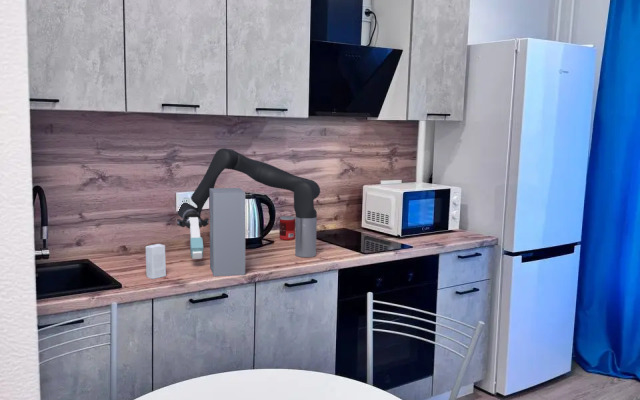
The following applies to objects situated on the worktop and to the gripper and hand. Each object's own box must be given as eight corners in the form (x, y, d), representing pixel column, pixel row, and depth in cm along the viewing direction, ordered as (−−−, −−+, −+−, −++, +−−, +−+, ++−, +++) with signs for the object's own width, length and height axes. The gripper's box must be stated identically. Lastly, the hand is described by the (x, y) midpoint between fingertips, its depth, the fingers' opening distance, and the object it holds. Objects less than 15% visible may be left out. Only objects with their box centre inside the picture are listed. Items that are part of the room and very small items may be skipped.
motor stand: (209, 267, 241) (209, 188, 236) (239, 266, 244) (239, 187, 240) (213, 276, 227) (213, 192, 223) (245, 274, 231) (245, 192, 226)
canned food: (296, 238, 302) (297, 216, 301) (292, 241, 295) (292, 219, 293) (282, 237, 304) (282, 215, 302) (277, 240, 296) (277, 218, 295)
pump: (187, 222, 254) (188, 213, 251) (199, 222, 255) (199, 213, 252) (191, 259, 238) (191, 249, 235) (203, 258, 239) (203, 249, 236)
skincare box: (159, 274, 229) (158, 243, 228) (166, 276, 227) (165, 245, 225) (145, 277, 225) (145, 246, 223) (152, 279, 222) (151, 247, 220)
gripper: (175, 210, 263) (177, 217, 246) (207, 210, 267) (211, 216, 250) (175, 227, 264) (177, 235, 247) (207, 226, 268) (211, 234, 251)
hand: (194, 225), depth 249 cm, fingers closed on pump, 3 cm apart
